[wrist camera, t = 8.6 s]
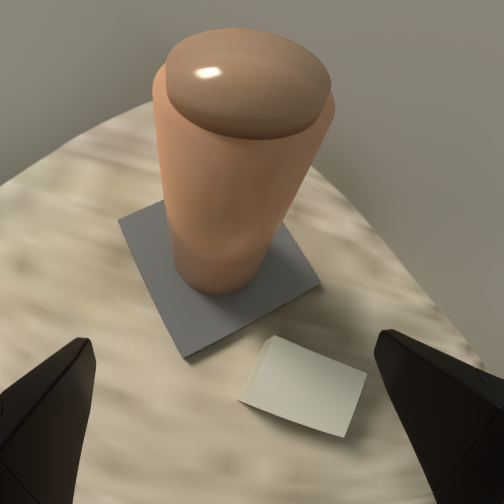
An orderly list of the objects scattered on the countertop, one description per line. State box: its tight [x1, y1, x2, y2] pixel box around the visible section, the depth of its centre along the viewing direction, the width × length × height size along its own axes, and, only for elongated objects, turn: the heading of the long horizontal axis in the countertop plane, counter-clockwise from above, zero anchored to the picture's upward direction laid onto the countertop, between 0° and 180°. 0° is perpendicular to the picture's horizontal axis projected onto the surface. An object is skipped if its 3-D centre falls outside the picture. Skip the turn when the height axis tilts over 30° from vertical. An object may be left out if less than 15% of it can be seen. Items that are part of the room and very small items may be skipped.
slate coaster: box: [118, 200, 321, 359], centre depth 21 cm, size 10×10×1 cm
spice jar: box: [153, 28, 335, 295], centre depth 14 cm, size 6×6×14 cm
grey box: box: [238, 335, 367, 438], centre depth 17 cm, size 6×4×3 cm, turn 67°
